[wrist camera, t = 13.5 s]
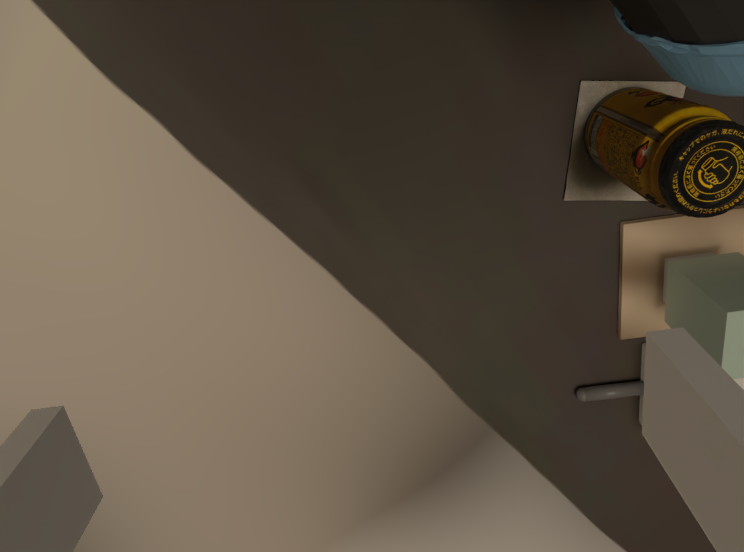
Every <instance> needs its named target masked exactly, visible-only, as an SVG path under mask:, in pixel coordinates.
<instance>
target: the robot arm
mask: <svg viewBox="0 0 744 552" xmlns="http://www.w3.org/2000/svg"><path fill="white" fill-rule="evenodd" d="M611 2H612V3H613V4H614V14H615V16H616V18H617V20H618V22H619V24H620V25H621V27H622V28H623V29H624V30H625V31H626V32H627V33H628V34H631V35H632V36H633V37H634V38H635V39H636V40H637V41H639V42H641V43H642V44H643V45H644V47H645V48H646V49H647V50H648V51H649V53H650V54H651V55H652V56H653V58H654V59H655V60H656V61H657V63H658V64H659V65H660V66H661V68H662V69H663V70H664V71H665V72H666V73H667V74H668V75H669V76H670V77H671V78H672V79H674V80H676V81H678V82H679V83H681V84H683V85H685V86H686V87H688V88H690V89H693V90H696V91H698V92H702V93H707V94H713V95H719V96H744V0H611ZM642 435H643V436H644V438H645V439H646V441H647V443H648V444H649V446H650V447H651V449H652V450H653V452H654V454H655V455H656V457H657V458H658V460H659V461H660V463H661V465H662V466H663V468H664V469H665V471H666V473H667V474H668V476H669V477H670V479H671V480H672V482H673V484H674V485H675V487H676V488H677V490H678V491H679V493H680V495H681V496H682V498H683V499H684V501H685V503H686V504H687V506H688V507H689V509H690V510H691V512H692V514H693V515H694V517H695V518H696V520H697V521H698V523H699V525H700V526H701V528H702V529H703V531H704V533H705V534H706V536H707V537H708V539H709V540H710V542H711V544H712V545H713V547H714V548H715V550H716V551H717V552H744V390H743V389H742V388H741V387H740V386H739V385H738V384H737V383H736V382H735V381H734V380H733V379H732V378H731V377H730V376H729V374H728V373H727V372H726V371H725V370H724V369H723V368H722V367H721V366H720V365H719V364H718V363H717V362H716V361H715V360H714V359H713V358H712V357H711V356H710V355H709V354H708V353H707V352H706V351H705V350H704V349H703V348H702V347H701V346H700V345H699V344H698V343H697V342H696V341H695V339H694V338H693V337H692V336H691V335H690V334H689V333H688V332H687V331H686V330H685V329H684V328H683V327H682V328H674V329H666V330H658V331H650V332H646V354H645V375H644V397H643V419H642ZM102 497H103V495H102V493H101V491H100V489H99V486H98V484H97V482H96V480H95V477H94V475H93V473H92V470H91V468H90V466H89V463H88V461H87V459H86V456H85V454H84V452H83V450H82V447H81V445H80V443H79V441H78V438H77V436H76V434H75V431H74V429H73V427H72V425H71V422H70V420H69V418H68V415H67V413H66V411H65V409H64V407H63V406H58V407H50V408H42V409H34V410H31V411H30V412H29V413H28V414H27V416H26V417H25V418H24V419H23V420H22V421H21V423H20V424H19V425H18V426H17V427H16V429H15V430H14V431H13V432H12V433H11V434H10V436H9V437H8V438H7V439H6V440H5V442H4V443H3V444H2V445H1V446H0V552H73V550H74V548H75V547H76V545H77V543H78V541H79V539H80V537H81V536H82V534H83V532H84V530H85V528H86V527H87V525H88V523H89V521H90V519H91V517H92V516H93V514H94V512H95V510H96V508H97V506H98V505H99V503H100V501H101V499H102Z"/></svg>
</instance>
